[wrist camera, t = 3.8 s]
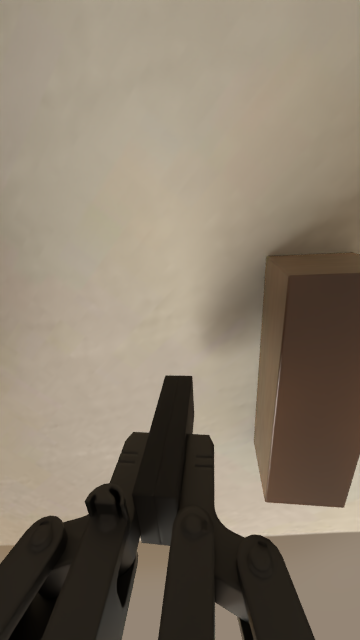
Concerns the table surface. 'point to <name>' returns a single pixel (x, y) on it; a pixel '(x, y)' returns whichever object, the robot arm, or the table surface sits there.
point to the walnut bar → (309, 379)
